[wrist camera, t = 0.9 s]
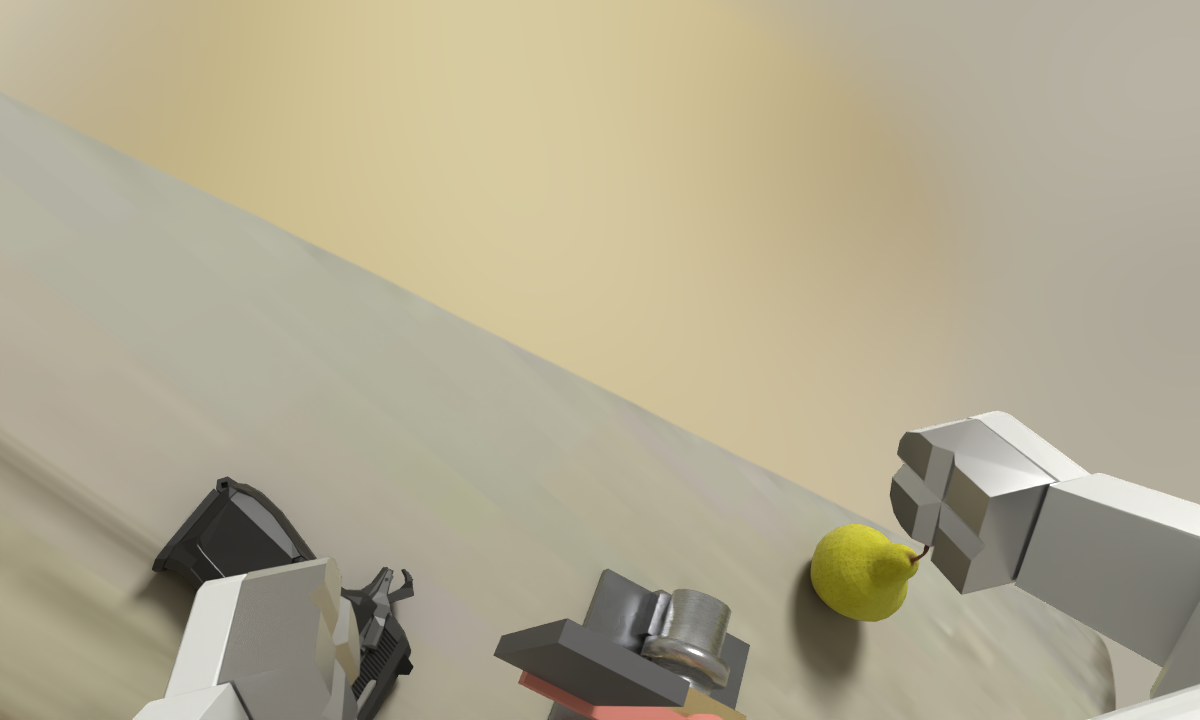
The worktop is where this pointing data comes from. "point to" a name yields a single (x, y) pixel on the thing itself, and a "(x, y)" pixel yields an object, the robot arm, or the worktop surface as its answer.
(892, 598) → the fruit
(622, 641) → the valve
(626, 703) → the lever
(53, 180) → the worktop surface
